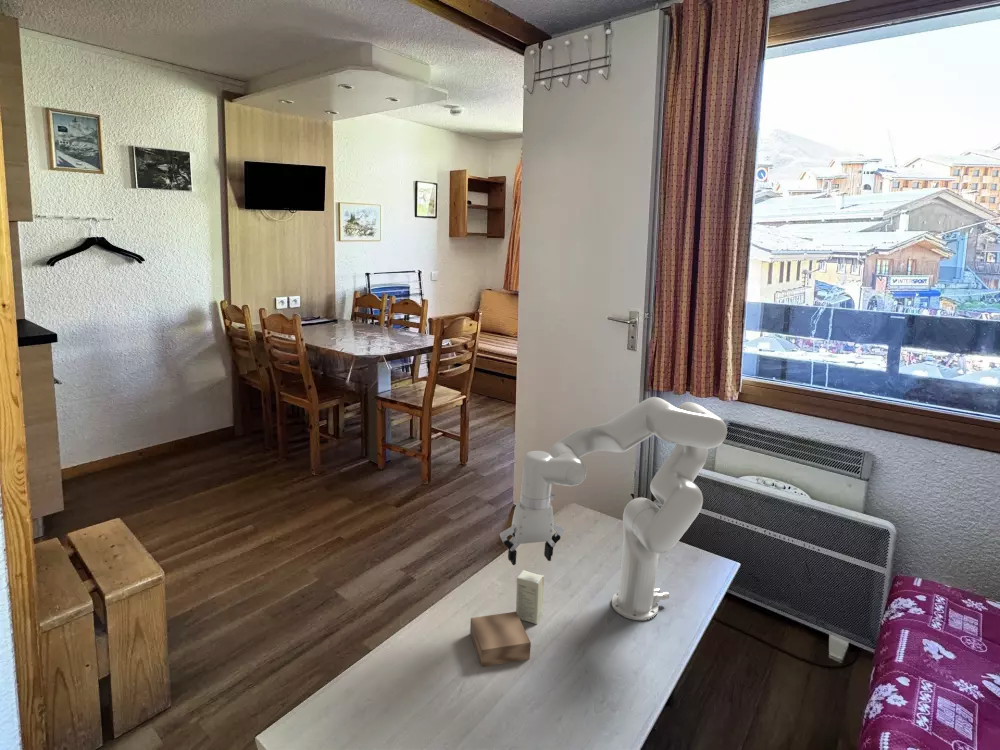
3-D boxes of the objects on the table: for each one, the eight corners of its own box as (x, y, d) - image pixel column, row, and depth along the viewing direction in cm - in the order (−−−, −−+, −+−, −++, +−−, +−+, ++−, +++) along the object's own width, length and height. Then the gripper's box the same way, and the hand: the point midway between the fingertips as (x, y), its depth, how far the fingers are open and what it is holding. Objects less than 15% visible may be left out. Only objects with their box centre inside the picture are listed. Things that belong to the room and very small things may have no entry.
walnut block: (515, 628, 159) (516, 611, 158) (529, 660, 148) (530, 642, 147) (470, 635, 156) (470, 618, 155) (481, 668, 145) (482, 650, 144)
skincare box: (542, 615, 164) (545, 575, 161) (536, 625, 160) (539, 583, 157) (520, 608, 167) (523, 568, 164) (514, 617, 163) (516, 577, 160)
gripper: (561, 490, 161) (555, 549, 165) (498, 495, 156) (494, 556, 160) (572, 503, 154) (566, 564, 158) (507, 509, 149) (502, 572, 153)
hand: (530, 560), depth 159 cm, fingers open, 9 cm apart
